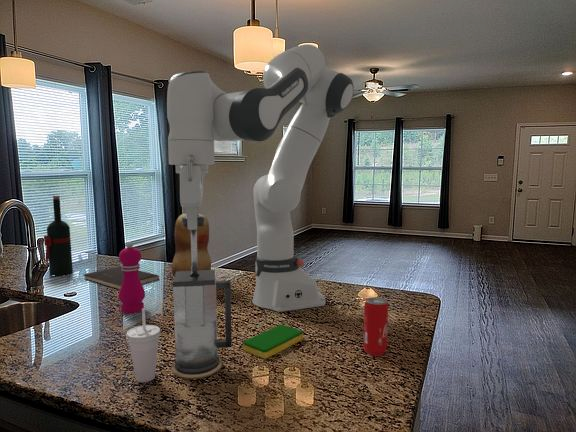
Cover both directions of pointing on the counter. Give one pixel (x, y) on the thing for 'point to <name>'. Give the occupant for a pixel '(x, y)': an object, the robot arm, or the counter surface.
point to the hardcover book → (117, 277)
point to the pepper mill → (131, 281)
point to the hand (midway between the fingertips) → (193, 225)
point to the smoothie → (144, 349)
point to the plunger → (194, 243)
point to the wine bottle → (58, 244)
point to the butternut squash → (184, 247)
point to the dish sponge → (272, 341)
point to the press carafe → (198, 324)
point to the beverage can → (375, 326)
